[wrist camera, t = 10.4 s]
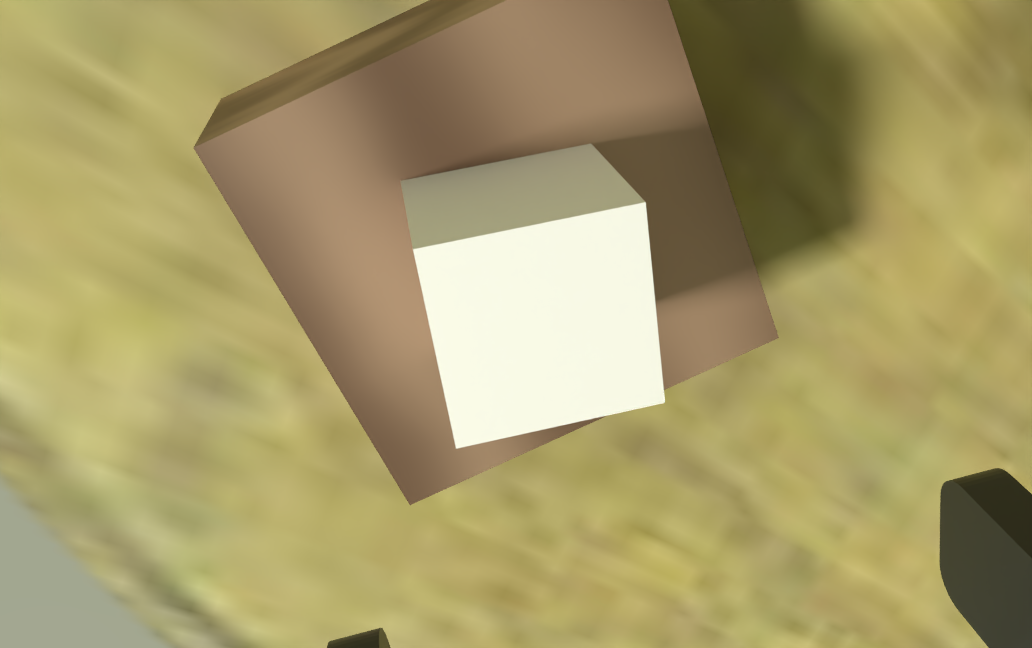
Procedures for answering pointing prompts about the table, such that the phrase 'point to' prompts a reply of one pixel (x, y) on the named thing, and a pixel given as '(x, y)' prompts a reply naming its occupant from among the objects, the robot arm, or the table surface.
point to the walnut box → (462, 144)
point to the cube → (536, 292)
